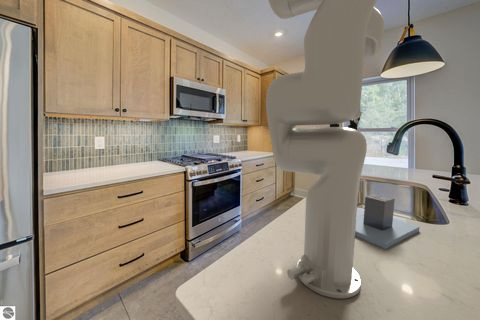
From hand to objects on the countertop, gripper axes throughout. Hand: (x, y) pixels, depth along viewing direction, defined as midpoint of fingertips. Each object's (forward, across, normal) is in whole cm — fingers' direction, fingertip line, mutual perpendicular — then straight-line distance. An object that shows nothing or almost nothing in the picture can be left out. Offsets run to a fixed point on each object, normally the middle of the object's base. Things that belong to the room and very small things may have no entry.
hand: (343, 136), depth 69 cm
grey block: (+28, +2, -12) cm, 31 cm away
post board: (+30, +2, -12) cm, 32 cm away
